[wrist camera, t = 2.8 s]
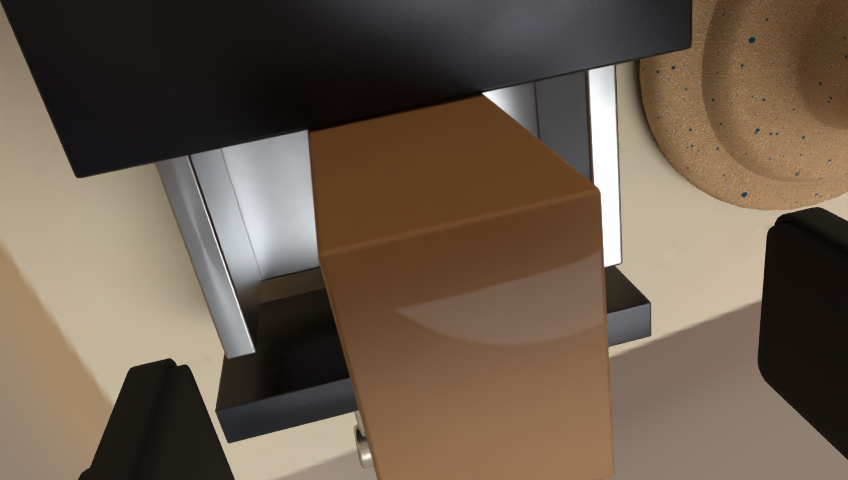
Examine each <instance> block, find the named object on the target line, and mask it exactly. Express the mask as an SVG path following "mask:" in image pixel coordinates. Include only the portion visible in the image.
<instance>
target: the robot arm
mask: <svg viewBox="0 0 848 480" xmlns="http://www.w3.org/2000/svg"><path fill="white" fill-rule="evenodd" d="M758 366H759V370H760V372H761V375H762V376H763V378H764V380H765V381H766V382H767V383H768V384H769V385H770V386H771V387H772V388H773V389H774V390H775V391H776V392H777V393H778V394H779V395H780V396H781V397H782V398H783V399H784V400H786V401H787V402H788V403H789V404H790V405H791V406H792V407H793V408H794V409H795V410H796V411H797V412H798V413H799V414H800V415H801V416H802V417H803V418H804V419H806V420H807V421H808V422H809V423H810V424H811V425H812V426H813V427H814V428H815V429H816V430H817V431H818V432H819V433H820V434H821V435H822V436H823V437H824V438H825V439H826V440H828V441H829V442H830V443H831V444H832V445H833V446H834V447H835V448H836V449H837V450H838V451H839V452H840V453H841V454H842V455H843V456H844V457H845V458H846V459H847V460H848V221H846V220H844V219H842V218H841V217H839V216H837V215H835V214H833V213H831V212H829V211H827V210H825V209H823V208H819V207H814V208H809V209H805V210H801V211H796V212H792V213H788V214H783V215H781V216H780V217H778V218H777V220H776V222H775V225H774V226H772V227H771V228H770V229H769V231H768V233H767V240H766V253H765V267H764V280H763V294H762V307H761V320H760V334H759V347H758ZM78 480H235V479H234V476H233V474H232V471H231V469H230V466H229V464H228V461H227V459H226V456H225V454H224V451H223V449H222V446H221V444H220V441H219V439H218V436H217V434H216V431H215V429H214V426H213V424H212V421H211V419H210V416H209V414H208V411H207V409H206V406H205V404H204V401H203V399H202V396H201V394H200V391H199V389H198V386H197V384H196V381H195V379H194V376H193V374H192V372H191V370H190V368H189V367H188V365H186V364H185V365H181V366H177V365H176V363H175V362H174V361H173V360H172V359H170V358H169V359H164V360H160V361H156V362H151V363H147V364H143V365H139V366H134V367H132V368H130V370H129V371H128V373H127V376H126V378H125V381H124V383H123V386H122V388H121V391H120V393H119V396H118V398H117V401H116V403H115V406H114V408H113V411H112V413H111V416H110V418H109V421H108V424H107V426H106V429H105V431H104V434H103V436H102V439H101V441H100V444H99V446H98V449H97V451H96V454H95V456H94V459H93V461H92V464H91V466H90V468H88V469H87V470H85V471H84V472H83V473H82V474H81V475H80V477H79V479H78Z"/></svg>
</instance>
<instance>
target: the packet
mask: <svg viewBox="0 0 848 480" xmlns="http://www.w3.org/2000/svg"><path fill="white" fill-rule="evenodd" d="M307 133H308V145H309V157H310V169H311V181H312V193H313V205H314V217H315V229H316V241H317V253H318V260H319V264H320V267H321V271H322V275H323V278H324V282H325V286H326V290H327V293H328V297H329V301H330V304H331V308H332V312H333V316H334V319H335V323H336V327H337V331H338V334H339V338H340V342H341V345H342V349H343V353H344V357H345V360H346V364H347V368H348V371H349V375H350V379H351V383H352V386H353V390H354V394H355V397H356V401H357V405H358V409H359V412H360V416H361V420H362V424H363V427H364V431H365V435H366V438H367V442H368V446H369V450H370V453H371V457H372V461H373V464H374V468H375V472H376V476H377V479H378V480H601V479H605V478H608V477H611V476H613V475H614V460H613V459H614V457H613V437H612V415H611V395H610V374H609V352H608V331H607V310H606V289H605V268H604V247H603V226H602V205H601V192H600V190H599V188H598V187H597V186H595V185H594V184H593V183H592V182H590V181H589V180H588V179H587V178H586V177H584V176H583V175H582V174H581V173H579V172H578V171H577V170H576V169H575V168H573V167H572V166H571V165H570V164H568V163H567V162H566V161H565V160H564V159H562V158H561V157H560V156H559V155H557V154H556V153H555V152H554V151H553V150H551V149H550V148H549V147H548V146H546V145H545V144H544V143H543V142H542V141H540V140H539V139H538V138H537V137H535V136H534V135H533V134H532V133H531V132H529V131H528V130H527V129H526V128H524V127H523V126H522V125H521V124H520V123H518V122H517V121H516V120H515V119H513V118H512V117H511V116H510V115H509V114H507V113H506V112H505V111H504V110H502V109H501V108H500V107H499V106H498V105H496V104H495V103H494V102H493V101H491V100H490V99H489V98H488V97H487V96H485V95H484V94H483V93H480V94H476V95H471V96H466V97H461V98H457V99H452V100H447V101H443V102H438V103H433V104H429V105H424V106H419V107H414V108H410V109H405V110H400V111H396V112H391V113H386V114H381V115H377V116H372V117H367V118H363V119H358V120H353V121H348V122H344V123H339V124H334V125H330V126H325V127H320V128H316V129H311V130H307Z"/></svg>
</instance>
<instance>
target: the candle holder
mask: <svg viewBox="0 0 848 480" xmlns="http://www.w3.org/2000/svg"><path fill="white" fill-rule="evenodd" d="M640 84H641V92H642V100H643V106H644V109H645V113H646V116H647V119H648V123H649V126H650V129H651V131H652V133H653V135H654V137H655V139H656V141H657V143H658V145H659V147H660V149H661V150H662V152H663V153H664V155H665V156H666V157H667V159H668V160H669V161H670V162H671V164H672V165H673V166H674V168H675V169H676V170H677V171H678V172H679V173H680V174H681V175H682V176H684V177H685V178H686V179H687V180H688V181H689V182H690V183H692V184H693V185H694V186H695V187H696V188H698V189H700V190H702V191H703V192H705V193H707V194H709V195H710V196H712V197H714V198H716V199H718V200H721V201H724V202H727V203H730V204H733V205H736V206H739V207H744V208H751V209H759V210H785V209H795V208H800V207H805V206H811V205H815V204H818V203H821V202H824V201H827V200H830V199H832V198H835V197H838V196H840V195H842V194H844V193H846V192H848V0H693V6H692V46H691V48H689V49H687V50H683V51H678V52H673V53H669V54H664V55H659V56H655V57H650V58H645V59H640Z"/></svg>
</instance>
